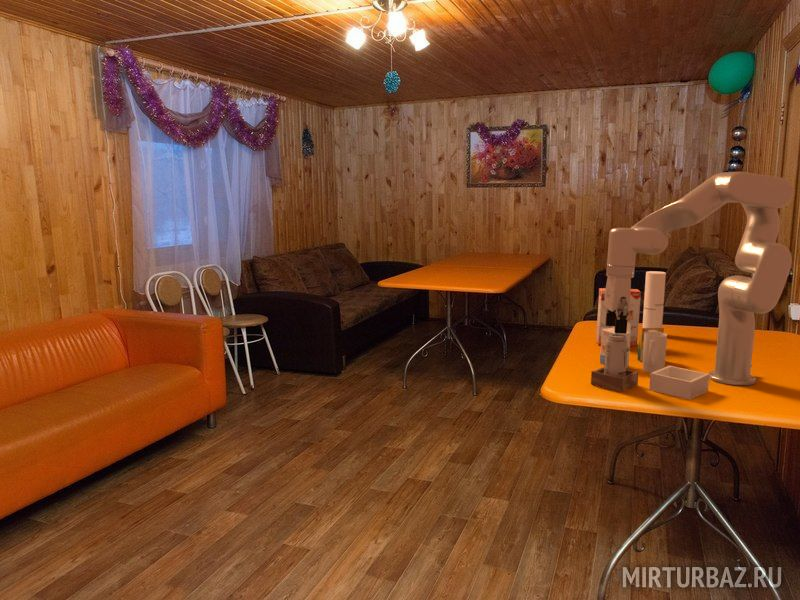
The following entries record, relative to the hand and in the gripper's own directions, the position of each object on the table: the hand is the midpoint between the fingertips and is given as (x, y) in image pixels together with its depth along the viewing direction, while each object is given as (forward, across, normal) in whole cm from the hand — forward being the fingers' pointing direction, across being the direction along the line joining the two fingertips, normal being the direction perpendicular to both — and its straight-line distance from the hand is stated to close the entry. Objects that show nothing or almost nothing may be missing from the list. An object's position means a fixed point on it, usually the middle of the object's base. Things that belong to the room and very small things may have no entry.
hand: (615, 329), depth 178 cm
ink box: (+17, -21, +7) cm, 28 cm away
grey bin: (+16, +4, +18) cm, 25 cm away
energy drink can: (+17, 0, +1) cm, 17 cm away
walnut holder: (+17, 0, +1) cm, 17 cm away
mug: (+17, -14, +16) cm, 27 cm away
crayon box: (+16, -28, +20) cm, 38 cm away
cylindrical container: (+16, -67, +33) cm, 76 cm away
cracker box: (+16, -50, +15) cm, 55 cm away
